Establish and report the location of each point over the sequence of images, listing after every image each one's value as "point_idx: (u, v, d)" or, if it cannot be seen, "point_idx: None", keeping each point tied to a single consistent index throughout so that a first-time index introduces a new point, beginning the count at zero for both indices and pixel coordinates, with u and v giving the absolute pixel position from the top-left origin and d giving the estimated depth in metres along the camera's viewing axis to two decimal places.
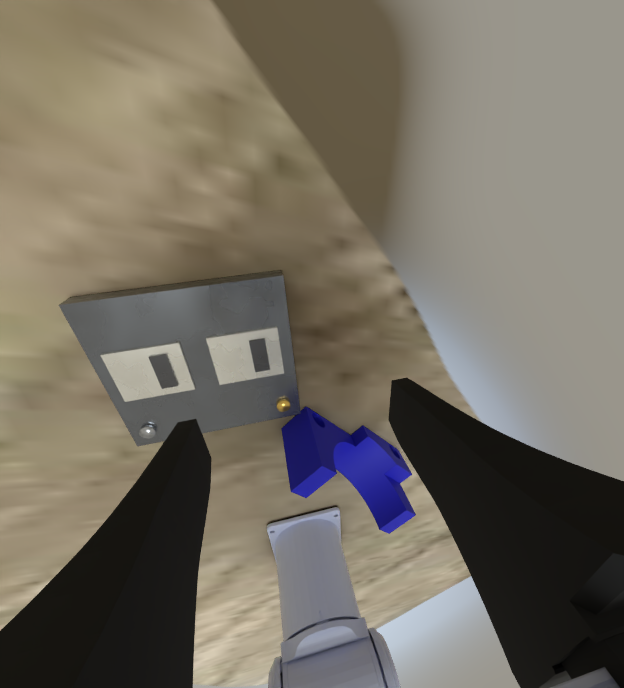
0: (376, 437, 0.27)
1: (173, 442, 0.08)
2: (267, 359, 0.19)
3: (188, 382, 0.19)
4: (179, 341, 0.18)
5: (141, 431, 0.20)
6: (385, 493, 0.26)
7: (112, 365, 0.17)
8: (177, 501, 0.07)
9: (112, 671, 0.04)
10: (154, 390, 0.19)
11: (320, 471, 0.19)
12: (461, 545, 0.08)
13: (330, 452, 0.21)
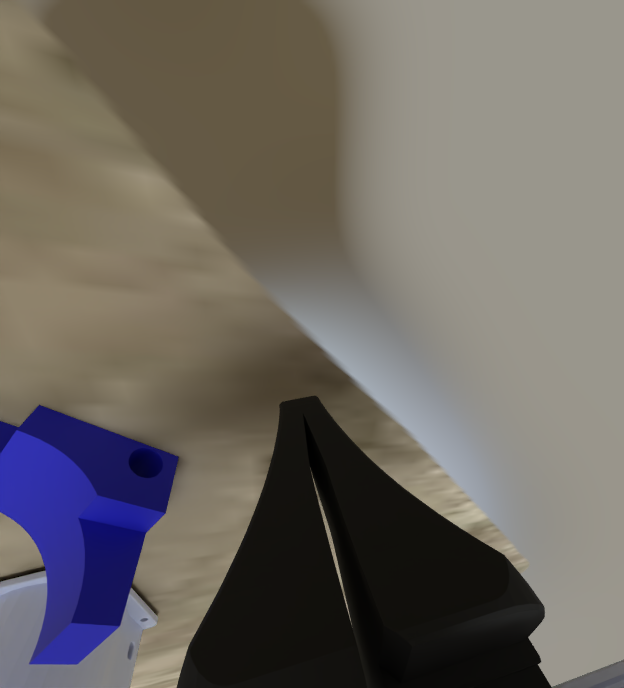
0: (82, 432, 0.12)
1: (291, 418, 0.09)
2: None
3: None
4: None
5: None
6: (72, 566, 0.11)
7: None
8: None
9: None
10: None
11: None
12: (342, 579, 0.08)
13: None
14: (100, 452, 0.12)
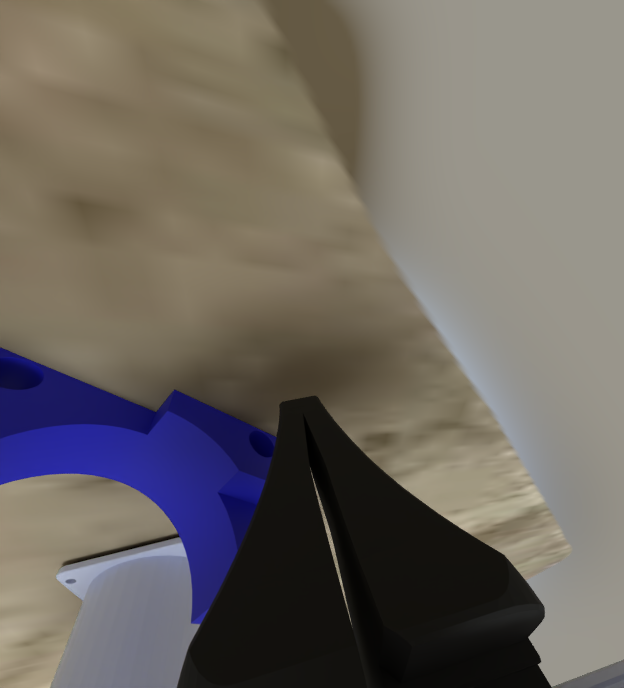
0: (211, 414, 0.13)
1: (291, 418, 0.09)
2: None
3: None
4: None
5: None
6: (216, 535, 0.11)
7: None
8: None
9: None
10: None
11: None
12: (342, 579, 0.08)
13: None
14: (228, 433, 0.13)
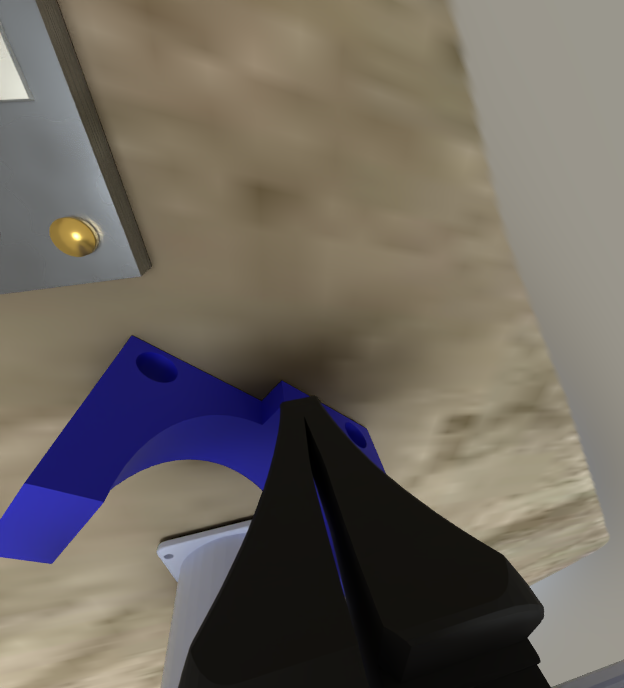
0: None
1: (291, 418, 0.09)
2: None
3: None
4: None
5: None
6: None
7: None
8: None
9: None
10: None
11: (33, 498, 0.06)
12: (342, 579, 0.08)
13: (137, 437, 0.08)
14: None
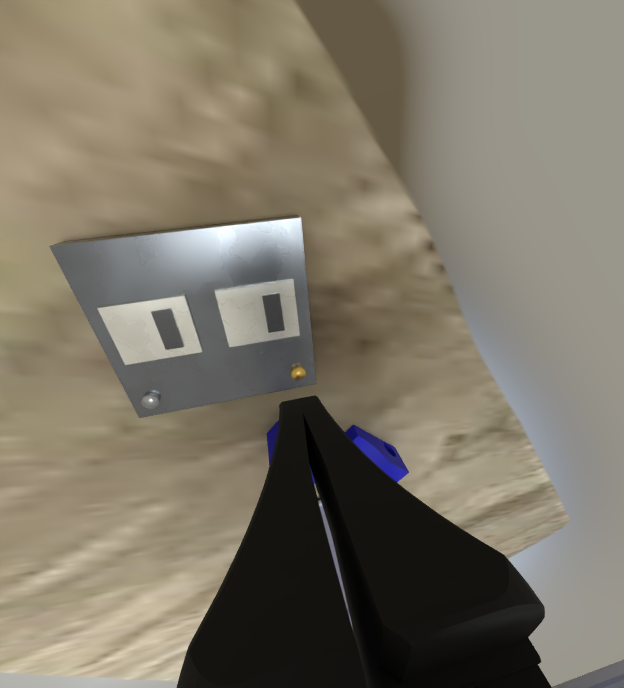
0: (368, 436, 0.26)
1: (291, 418, 0.09)
2: (282, 318, 0.17)
3: (195, 343, 0.17)
4: (184, 294, 0.16)
5: (143, 400, 0.18)
6: None
7: (110, 321, 0.15)
8: None
9: None
10: (157, 352, 0.17)
11: None
12: (342, 579, 0.08)
13: None
14: (378, 445, 0.26)
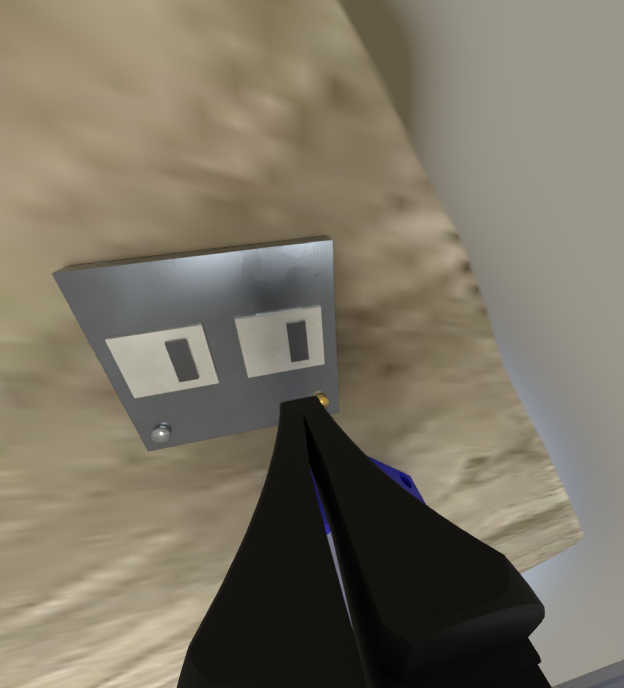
0: (383, 467, 0.24)
1: (291, 418, 0.09)
2: (307, 347, 0.16)
3: (211, 374, 0.16)
4: (201, 323, 0.14)
5: (153, 434, 0.17)
6: None
7: (119, 352, 0.14)
8: None
9: None
10: (170, 384, 0.15)
11: None
12: (342, 579, 0.08)
13: None
14: (393, 476, 0.24)
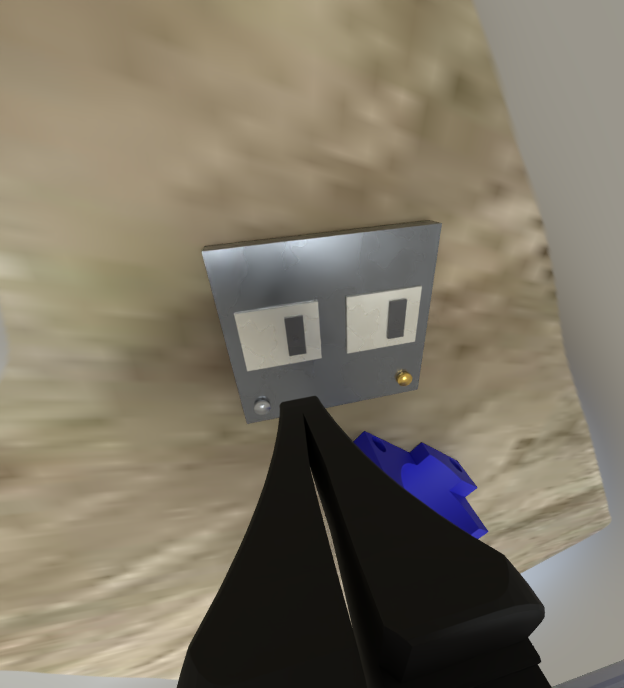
0: (436, 453, 0.26)
1: (291, 418, 0.09)
2: (404, 324, 0.17)
3: (316, 349, 0.17)
4: (316, 301, 0.15)
5: (257, 406, 0.18)
6: (452, 510, 0.25)
7: (244, 327, 0.15)
8: None
9: None
10: (280, 358, 0.17)
11: None
12: (342, 579, 0.08)
13: (399, 480, 0.21)
14: (446, 461, 0.26)
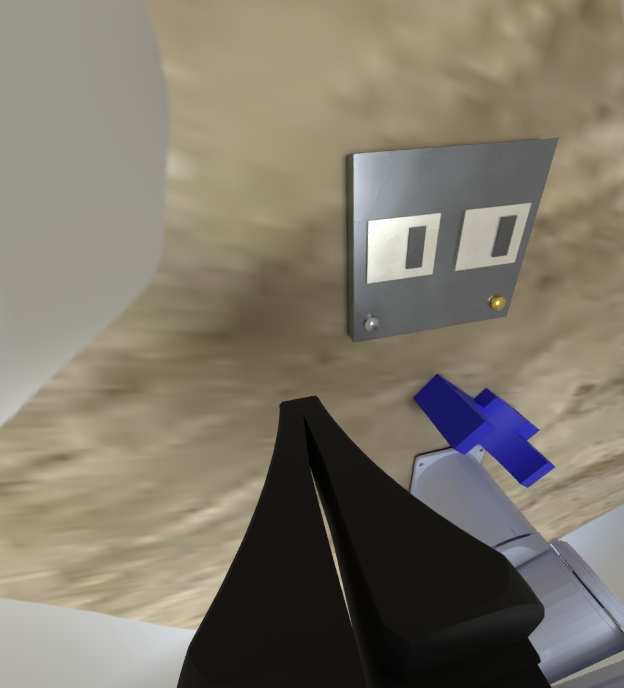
0: (499, 398, 0.27)
1: (291, 418, 0.09)
2: (510, 242, 0.18)
3: (430, 264, 0.18)
4: (438, 213, 0.17)
5: (368, 322, 0.19)
6: (518, 450, 0.26)
7: (374, 235, 0.16)
8: None
9: None
10: (397, 271, 0.18)
11: (482, 427, 0.20)
12: (342, 579, 0.08)
13: (478, 411, 0.22)
14: (509, 406, 0.27)
